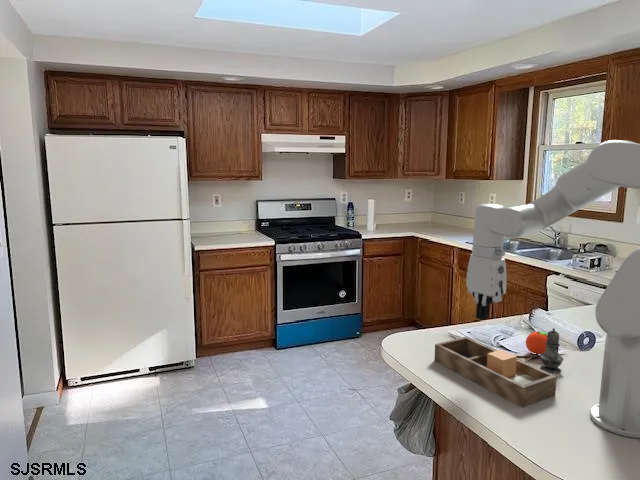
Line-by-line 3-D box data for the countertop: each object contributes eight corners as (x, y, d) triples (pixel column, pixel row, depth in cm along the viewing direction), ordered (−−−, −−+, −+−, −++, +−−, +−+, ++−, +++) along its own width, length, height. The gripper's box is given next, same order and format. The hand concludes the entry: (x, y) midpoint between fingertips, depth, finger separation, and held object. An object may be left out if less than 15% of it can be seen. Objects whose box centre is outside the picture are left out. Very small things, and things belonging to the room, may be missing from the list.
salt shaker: (565, 375, 128) (568, 332, 126) (541, 373, 129) (545, 331, 127) (558, 365, 133) (562, 325, 131) (536, 364, 134) (539, 323, 132)
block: (515, 374, 123) (516, 356, 122) (502, 378, 120) (503, 360, 119) (500, 367, 127) (501, 349, 126) (486, 371, 125) (487, 353, 124)
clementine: (551, 351, 143) (553, 328, 142) (556, 360, 137) (558, 337, 135) (523, 349, 145) (524, 326, 144) (527, 358, 138) (528, 335, 137)
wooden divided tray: (555, 395, 117) (556, 376, 116) (522, 407, 111) (523, 387, 110) (465, 352, 143) (465, 336, 142) (434, 360, 137) (435, 344, 136)
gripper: (521, 255, 119) (515, 324, 123) (476, 245, 132) (471, 308, 136) (500, 258, 116) (494, 329, 119) (455, 247, 129) (452, 312, 132)
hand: (482, 318), depth 127 cm, fingers closed
